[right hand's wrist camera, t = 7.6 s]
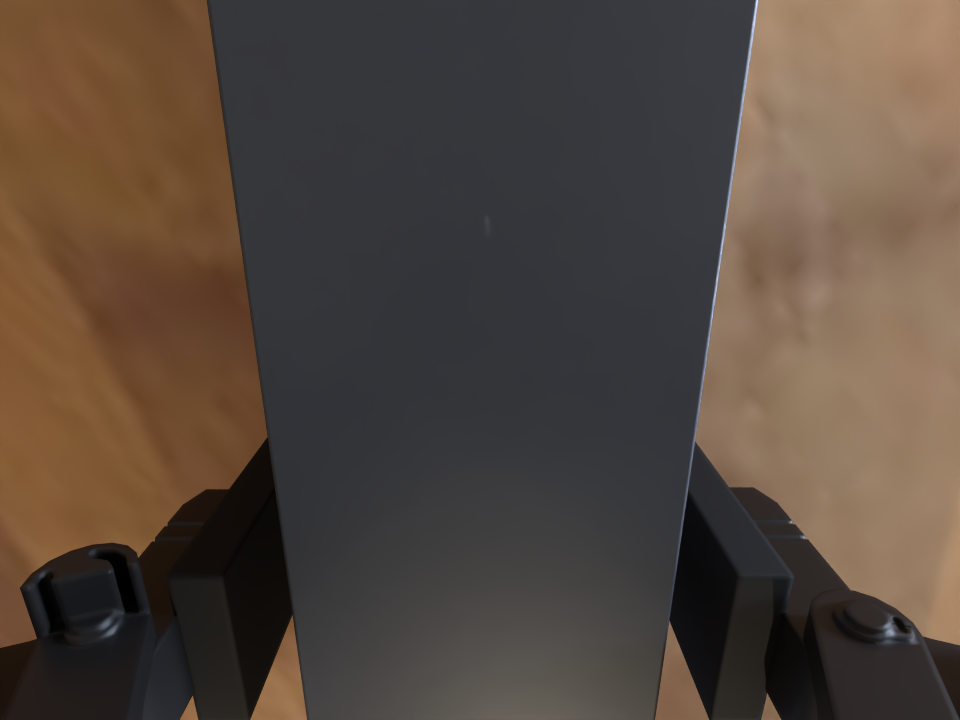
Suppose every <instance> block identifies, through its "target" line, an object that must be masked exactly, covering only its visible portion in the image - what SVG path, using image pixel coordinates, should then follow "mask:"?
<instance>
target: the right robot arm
mask: <svg viewBox="0 0 960 720" xmlns="http://www.w3.org/2000/svg"><path fill="white" fill-rule="evenodd" d="M20 590H21V592H22V595H23V598H24V601H25V604H26V607H27V610H28V613H29V616H30V619H31V622H32V624H33V627H34V630H35V633H36V636H37V639H35V640H32V641H29V642H25V643H20V644H16V645H12V646H7V647H3V648H0V720H180V718H181V716H182V714H183V712H184V711H185V709H186V707H187V705H188V703H189V701H190V699H191V697H192V695H193V698H194V702H195V707H196V711H197V715H198V719H199V720H250V719H251V716H252V714H253V711H254V709H255V706H256V704H257V701H258V699H259V696H260V694H261V691H262V689H263V686H264V684H265V681H266V679H267V677H268V674H269V672H270V669H271V667H272V664H273V662H274V659H275V657H276V654H277V652H278V649H279V647H280V644H281V642H282V639H283V637H284V634H285V632H286V629H287V627H288V624H289V622H290V619H291V617H292V606H291V599H290V592H289V585H288V578H287V571H286V563H285V556H284V549H283V542H282V535H281V528H280V520H279V513H278V506H277V499H276V492H275V485H274V478H273V470H272V463H271V456H270V449H269V442H268V437H267V439H266V440H265V441H264V443H263V444H262V445H261V447H260V448H259V450H258V451H257V452H256V454H255V455H254V456H253V458H252V459H251V460H250V462H249V463H248V464H247V466H246V467H245V469H244V470H243V471H242V473H241V474H240V475H239V477H238V478H237V479H236V481H235V482H234V483H233V485H232V486H231V488H230V489H206V490H205V491H203V492H202V493H200V494H199V495H197V496H196V497H194V498H192V499H191V500H189V501H188V502H186V503H185V504H183V505H182V506H181V508H180V509H179V510H178V511H177V512H176V514H175V515H174V516H173V517H172V518H171V520H170V521H169V522H168V526H165V527H164V528H163V529H162V530H161V532H160V533H159V534H158V535H157V536H156V538H155V542H151V544H150V545H149V546H148V547H147V548H146V549H145V551H144V552H143V553H142V554H141V555H140V557H139V558H138V556H137V553H136V552H135V551H134V550H133V549H131V548H130V547H129V546H127V545H122V544H116V543H106V544H95V545H90V546H86V547H83V548H80V549H76V550H73V551H70V552H68V553H65V554H63V555H61V556H59V557H57V558H55V559H53V560H51V561H49V562H47V563H46V564H45V565H43V566H42V567H40V568H39V569H38V570H36V571H35V572H33V573H32V574H31V575H30V576H29V577H28V579H27V580H26V581H25V582H24V583H23V585H22V586H21V587H20ZM669 620H670V623H671V625H672V628H673V630H674V633H675V635H676V638H677V640H678V643H679V645H680V648H681V650H682V653H683V655H684V658H685V660H686V663H687V665H688V668H689V670H690V673H691V675H692V678H693V680H694V683H695V685H696V688H697V690H698V693H699V695H700V698H701V700H702V703H703V705H704V707H705V710H706V712H707V715H708V717H709V720H761V717H762V713H763V709H764V704H765V700H766V696H767V693H768V695H769V697H770V699H771V701H772V703H773V705H774V707H775V708H776V710H777V712H778V714H779V716H780V718H781V720H960V646H959V645H955V644H951V643H946V642H942V641H938V640H933V639H930V638H926V637H923V636H922V635H921V634H920V632H919V631H918V629H917V628H916V627H915V625H914V624H913V622H911V621H910V620H909V619H908V618H907V617H905V616H904V615H903V614H902V613H900V612H899V611H898V610H897V609H896V608H894V607H892V606H890V605H888V604H886V603H884V602H882V601H881V600H879V599H877V598H875V597H872V596H869V595H865V594H862V593H859V592H856V591H851V590H850V589H849V588H848V587H847V585H846V584H845V583H844V582H843V581H842V580H841V578H840V577H839V576H838V575H837V574H836V572H835V571H834V570H833V569H832V568H831V566H830V565H829V564H828V563H827V562H826V560H825V559H824V558H823V557H822V556H821V555H820V553H819V552H818V551H817V550H816V549H815V547H814V546H813V545H812V544H811V543H810V541H809V540H805V536H804V534H803V533H802V532H801V531H800V530H799V528H798V527H797V526H796V525H795V524H792V520H791V519H790V518H789V516H788V515H787V514H786V513H785V512H784V511H783V509H782V508H781V507H780V506H779V505H778V503H776V502H775V501H773V500H772V499H770V498H769V497H767V496H766V495H764V494H763V493H761V492H760V491H758V490H757V489H755V488H729V487H728V485H727V484H726V483H725V481H724V480H723V479H722V477H721V476H720V475H719V473H718V472H717V471H716V469H715V468H714V466H713V465H712V464H711V462H710V461H709V460H708V458H707V457H706V456H705V454H704V453H703V452H702V450H701V449H700V447H699V446H698V445H697V443H696V442H695V445H694V452H693V459H692V465H691V472H690V479H689V486H688V493H687V500H686V507H685V514H684V521H683V528H682V535H681V542H680V549H679V556H678V563H677V570H676V577H675V584H674V591H673V598H672V605H671V611H670V618H669Z"/></svg>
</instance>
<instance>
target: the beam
mask: <svg viewBox="0 0 960 720" xmlns="http://www.w3.org/2000/svg"><path fill="white" fill-rule="evenodd" d="M207 5H208V12H209V19H210V27H211V34H212V41H213V48H214V55H215V62H216V69H217V77H218V84H219V91H220V98H221V105H222V112H223V120H224V127H225V134H226V141H227V148H228V155H229V163H230V170H231V177H232V184H233V191H234V198H235V205H236V213H237V220H238V227H239V234H240V241H241V248H242V256H243V263H244V270H245V277H246V284H247V291H248V299H249V306H250V313H251V320H252V327H253V334H254V341H255V349H256V356H257V363H258V370H259V377H260V384H261V392H262V399H263V406H264V413H265V420H266V427H267V435H268V442H269V449H270V456H271V463H272V470H273V478H274V485H275V492H276V499H277V506H278V513H279V520H280V528H281V535H282V542H283V549H284V556H285V563H286V571H287V578H288V585H289V592H290V599H291V606H292V614H293V621H294V628H295V635H296V642H297V649H298V656H299V664H300V671H301V678H302V685H303V692H304V699H305V707H306V714H307V720H655V716H656V709H657V702H658V695H659V688H660V681H661V674H662V667H663V660H664V653H665V646H666V639H667V632H668V625H669V618H670V611H671V605H672V598H673V591H674V584H675V577H676V570H677V563H678V556H679V549H680V542H681V535H682V528H683V521H684V514H685V507H686V500H687V493H688V486H689V479H690V472H691V465H692V459H693V452H694V445H695V438H696V431H697V424H698V417H699V410H700V403H701V396H702V389H703V382H704V375H705V368H706V361H707V354H708V347H709V340H710V333H711V326H712V319H713V313H714V306H715V299H716V292H717V285H718V278H719V271H720V264H721V257H722V250H723V243H724V236H725V229H726V222H727V215H728V208H729V201H730V194H731V187H732V180H733V173H734V167H735V160H736V153H737V146H738V139H739V132H740V125H741V118H742V111H743V104H744V97H745V90H746V83H747V76H748V69H749V62H750V55H751V48H752V41H753V34H754V27H755V21H756V14H757V7H758V0H207Z"/></svg>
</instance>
